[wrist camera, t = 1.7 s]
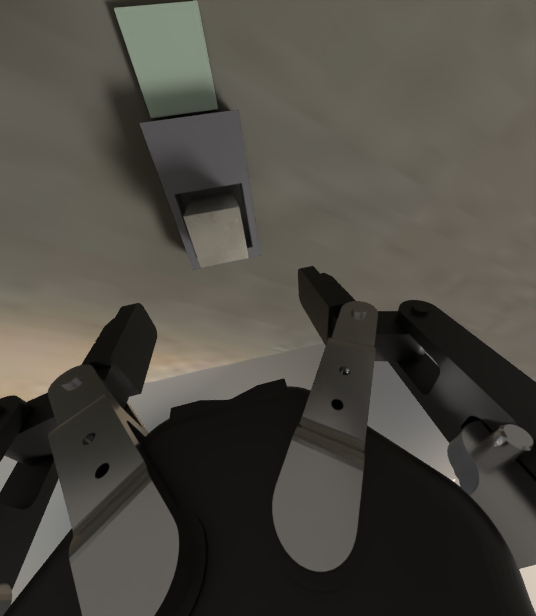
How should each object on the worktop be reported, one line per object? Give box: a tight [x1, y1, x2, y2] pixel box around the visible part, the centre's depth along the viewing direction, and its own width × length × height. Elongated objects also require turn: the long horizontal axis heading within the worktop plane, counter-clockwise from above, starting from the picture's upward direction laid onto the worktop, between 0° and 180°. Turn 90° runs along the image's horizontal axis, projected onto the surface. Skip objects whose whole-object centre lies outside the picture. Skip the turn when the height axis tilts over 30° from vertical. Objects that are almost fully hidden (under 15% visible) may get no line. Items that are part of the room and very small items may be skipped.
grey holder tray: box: [139, 110, 261, 270], centre depth 23 cm, size 13×8×4 cm, turn 7°
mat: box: [114, 1, 218, 119], centre depth 18 cm, size 6×6×1 cm
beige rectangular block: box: [183, 191, 249, 268], centre depth 22 cm, size 4×4×8 cm
